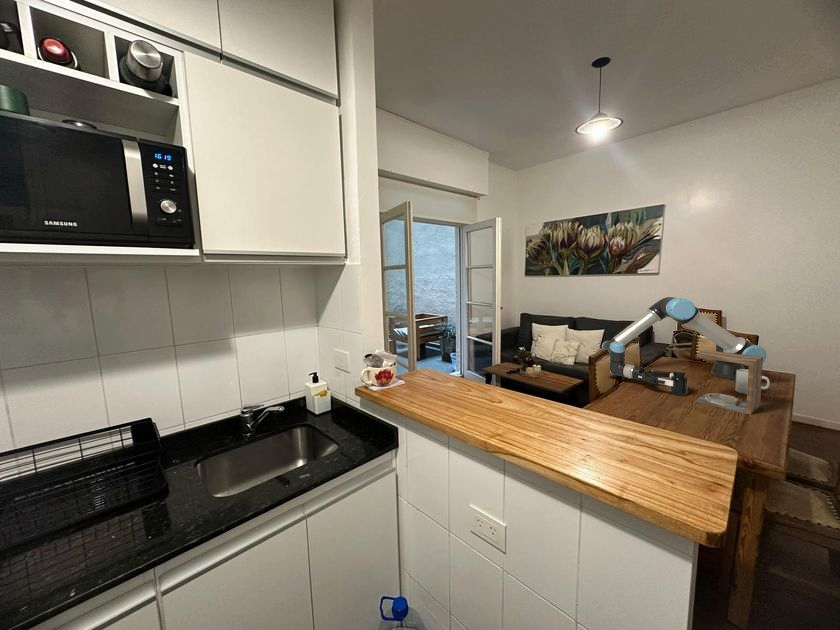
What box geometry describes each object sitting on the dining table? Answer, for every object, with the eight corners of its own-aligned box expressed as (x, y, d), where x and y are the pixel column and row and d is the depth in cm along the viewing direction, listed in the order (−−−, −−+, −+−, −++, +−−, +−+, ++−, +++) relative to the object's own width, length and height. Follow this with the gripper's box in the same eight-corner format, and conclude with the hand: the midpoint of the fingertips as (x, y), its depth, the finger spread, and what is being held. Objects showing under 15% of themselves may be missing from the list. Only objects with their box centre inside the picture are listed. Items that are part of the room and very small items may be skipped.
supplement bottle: (681, 391, 172) (682, 369, 171) (690, 396, 165) (691, 373, 164) (667, 391, 173) (668, 369, 171) (676, 396, 166) (676, 373, 165)
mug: (735, 392, 167) (736, 371, 165) (735, 388, 173) (736, 368, 171) (769, 397, 158) (770, 375, 157) (768, 393, 164) (769, 371, 163)
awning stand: (705, 395, 165) (707, 350, 162) (760, 407, 148) (762, 356, 146) (695, 401, 158) (696, 354, 155) (750, 414, 141) (753, 361, 139)
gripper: (645, 374, 193) (689, 383, 175) (623, 383, 180) (667, 393, 162) (645, 362, 192) (689, 369, 174) (623, 369, 179) (668, 378, 161)
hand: (679, 380), depth 168 cm, fingers open, 13 cm apart
